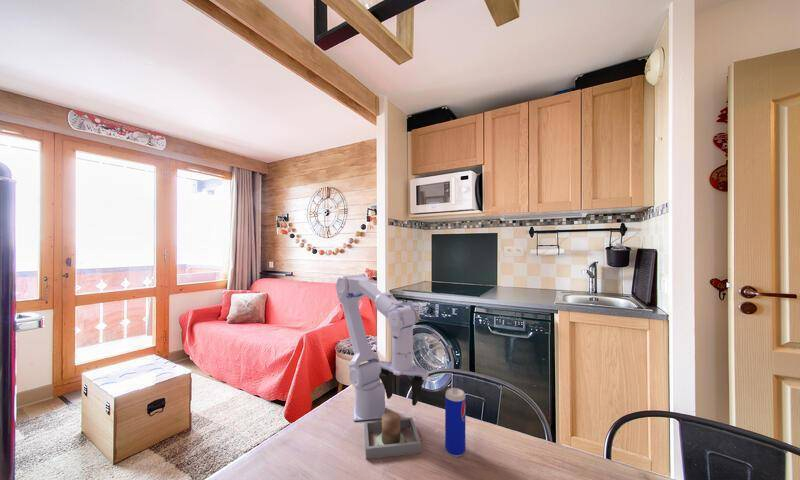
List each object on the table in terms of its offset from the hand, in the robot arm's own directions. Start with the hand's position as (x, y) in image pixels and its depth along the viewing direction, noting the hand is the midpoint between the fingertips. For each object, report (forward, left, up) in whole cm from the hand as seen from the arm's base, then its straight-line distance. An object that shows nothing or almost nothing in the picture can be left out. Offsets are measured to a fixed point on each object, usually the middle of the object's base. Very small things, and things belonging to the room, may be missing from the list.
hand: (402, 400), depth 79 cm
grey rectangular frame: (+3, +1, -10) cm, 11 cm away
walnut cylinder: (+3, +1, -10) cm, 10 cm away
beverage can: (-13, +7, -11) cm, 18 cm away
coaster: (+3, +1, -10) cm, 11 cm away
